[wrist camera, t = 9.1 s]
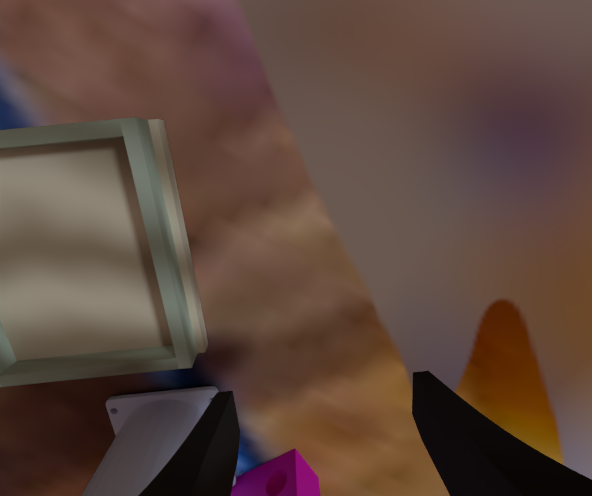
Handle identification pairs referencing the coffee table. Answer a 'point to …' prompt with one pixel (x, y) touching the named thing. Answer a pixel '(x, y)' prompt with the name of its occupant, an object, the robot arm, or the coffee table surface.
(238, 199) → the coffee table surface
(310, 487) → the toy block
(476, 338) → the coffee table surface
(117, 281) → the shallow square tray
